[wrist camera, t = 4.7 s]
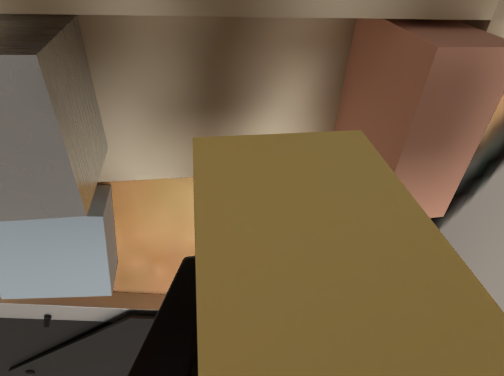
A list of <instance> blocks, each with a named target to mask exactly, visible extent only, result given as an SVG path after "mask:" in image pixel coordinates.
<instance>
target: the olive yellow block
mask: <svg viewBox="0 0 504 376" xmlns="http://www.w3.org/2000/svg"><path fill="white" fill-rule="evenodd" d="M193 180H194V221H195V263H196V305H197V347H198V376H504V312H503V311H502V310H501V308H500V307H499V306H498V305H497V303H496V302H495V301H494V299H493V298H492V297H491V296H490V294H489V293H488V292H487V291H486V289H485V288H484V287H483V285H482V284H481V283H480V282H479V280H478V279H477V278H476V277H475V275H474V274H473V273H472V272H471V270H470V269H469V268H468V266H467V265H466V264H465V262H464V261H463V260H462V259H461V258H460V256H459V255H458V253H457V252H456V251H455V250H454V248H453V247H452V246H451V245H450V243H449V242H448V241H447V239H446V238H445V237H444V236H443V234H442V233H441V232H440V230H439V229H438V228H437V227H436V225H435V224H434V223H433V222H432V220H431V219H430V218H429V216H428V215H427V214H426V213H425V211H424V210H423V209H422V207H421V206H420V205H419V204H418V202H417V201H416V200H415V199H414V197H413V196H412V195H411V193H410V192H409V191H408V190H407V188H406V187H405V186H404V184H403V183H402V182H401V181H400V179H399V178H398V177H397V176H396V174H395V173H394V172H393V170H392V169H391V168H390V167H389V165H388V164H387V163H386V161H385V160H384V159H383V158H382V156H381V155H380V154H379V153H378V151H377V150H376V149H375V147H374V146H373V145H372V144H371V142H370V141H369V140H368V138H367V137H366V136H365V135H364V133H363V132H362V131H361V130H351V131H328V132H306V133H283V134H261V135H238V136H215V137H193Z"/></svg>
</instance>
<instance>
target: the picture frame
mask: <svg viewBox="0 0 504 376" xmlns="http://www.w3.org/2000/svg"><path fill="white" fill-rule="evenodd" d="M165 296H166V295H162V294H145V293H128V292H112V296H91V297H59V298H27V299H1V297H0V376H127V374H128V372H129V370H130V368H131V366H132V364H133V362H134V360H135V358H136V356H137V354H138V352H139V350H140V348H141V345H142V343H143V341H144V339H145V337H146V335H147V333H148V331H149V329H150V327H151V325H152V323H153V321H154V319H155V317H156V315H157V313H158V310H159V308H160V306H161V304H162V302H163V300H164V298H165Z"/></svg>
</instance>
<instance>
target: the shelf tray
mask: <svg viewBox="0 0 504 376" xmlns="http://www.w3.org/2000/svg"><path fill="white" fill-rule="evenodd" d="M0 14H38V15H78V20H79V24H80V28H81V33H82V37H83V41H84V46H85V50H86V54H87V59H88V63H89V67H90V72H91V76H92V80H93V85H94V89H95V93H96V98H97V102H98V106H99V111H100V115H101V119H102V124H103V128H104V132H105V137H106V141H107V145H108V150H107V154H106V157H105V160H104V163H103V166H102V170H101V173H100V176H99V179H98V182H111V181H130V180H149V179H168V178H187V177H193V137H215V136H238V135H261V134H283V133H306V132H328V131H334V127H335V123H336V118H337V113H338V108H339V103H340V98H341V93H342V88H343V83H344V78H345V74H346V69H347V64H348V59H349V54H350V49H351V44H352V39H353V34H354V29H355V24H356V20H357V18H369V19H445V20H458V21H460V22H463V23H465V24H468V25H471V26H473V27H476V28H478V29H481V30H483V31H486V32H489V33H491V34H494V35H496V36H499V37H502V38H504V0H0Z"/></svg>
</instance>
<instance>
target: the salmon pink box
mask: <svg viewBox="0 0 504 376" xmlns="http://www.w3.org/2000/svg"><path fill="white" fill-rule="evenodd" d="M503 94H504V38H502V37H499V36H496V35H494V34H491V33H489V32H486V31H483V30H481V29H478V28H476V27H473V26H471V25H468V24H465V23H463V22H460V21H458V20H445V19H369V18H357V20H356V24H355V29H354V34H353V39H352V44H351V49H350V54H349V59H348V64H347V69H346V74H345V78H344V83H343V88H342V93H341V98H340V103H339V108H338V113H337V118H336V123H335V127H334V131H351V130H361V131H362V132H363V133H364V135H365V136H366V137H367V138H368V140H369V141H370V142H371V144H372V145H373V146H374V147H375V149H376V150H377V151H378V153H379V154H380V155H381V156H382V158H383V159H384V160H385V161H386V163H387V164H388V165H389V167H390V168H391V169H392V170H393V172H394V173H395V174H396V176H397V177H398V178H399V179H400V181H401V182H402V183H403V184H404V186H405V187H406V188H407V190H408V191H409V192H410V193H411V195H412V196H413V197H414V199H415V200H416V201H417V202H418V204H419V205H420V206H421V207H422V209H423V210H424V211H425V213H426V214H427V215H428V216H429V218H432V217H443V216H444V214H445V212H446V210H447V208H448V206H449V204H450V202H451V200H452V198H453V196H454V194H455V192H456V189H457V187H458V185H459V183H460V181H461V179H462V177H463V175H464V173H465V171H466V169H467V167H468V165H469V163H470V161H471V159H472V157H473V155H474V153H475V151H476V149H477V147H478V145H479V143H480V141H481V139H482V137H483V134H484V132H485V130H486V128H487V126H488V124H489V122H490V120H491V118H492V116H493V114H494V112H495V110H496V108H497V106H498V104H499V102H500V100H501V98H502V96H503Z"/></svg>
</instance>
